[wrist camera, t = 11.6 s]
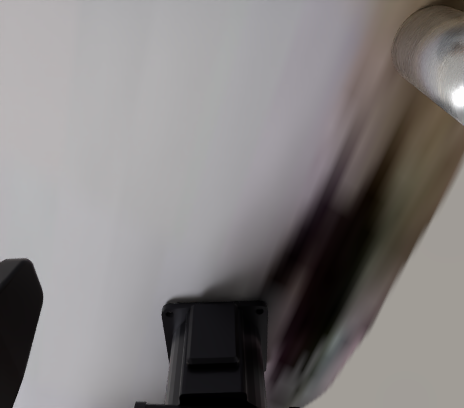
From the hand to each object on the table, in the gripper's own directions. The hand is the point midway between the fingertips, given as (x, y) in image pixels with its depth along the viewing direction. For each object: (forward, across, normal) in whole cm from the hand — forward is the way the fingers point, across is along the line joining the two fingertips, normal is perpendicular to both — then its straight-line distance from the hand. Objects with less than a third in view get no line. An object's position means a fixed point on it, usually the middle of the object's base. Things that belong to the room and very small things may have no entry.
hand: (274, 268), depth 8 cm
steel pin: (+13, -8, -1) cm, 15 cm away
